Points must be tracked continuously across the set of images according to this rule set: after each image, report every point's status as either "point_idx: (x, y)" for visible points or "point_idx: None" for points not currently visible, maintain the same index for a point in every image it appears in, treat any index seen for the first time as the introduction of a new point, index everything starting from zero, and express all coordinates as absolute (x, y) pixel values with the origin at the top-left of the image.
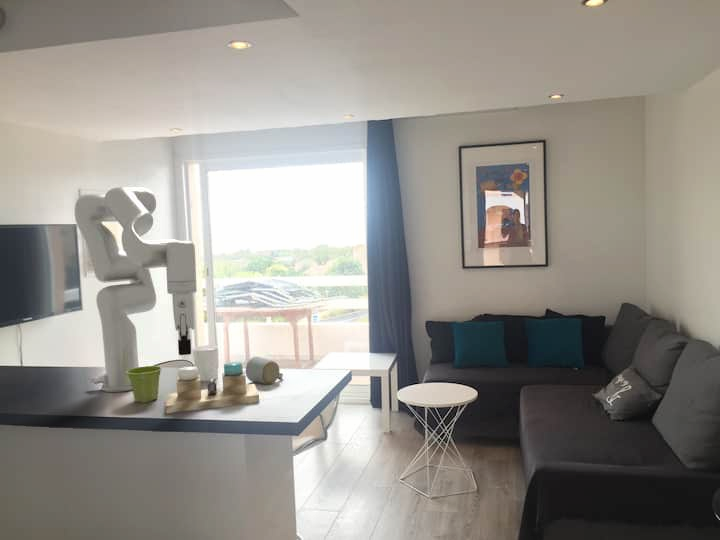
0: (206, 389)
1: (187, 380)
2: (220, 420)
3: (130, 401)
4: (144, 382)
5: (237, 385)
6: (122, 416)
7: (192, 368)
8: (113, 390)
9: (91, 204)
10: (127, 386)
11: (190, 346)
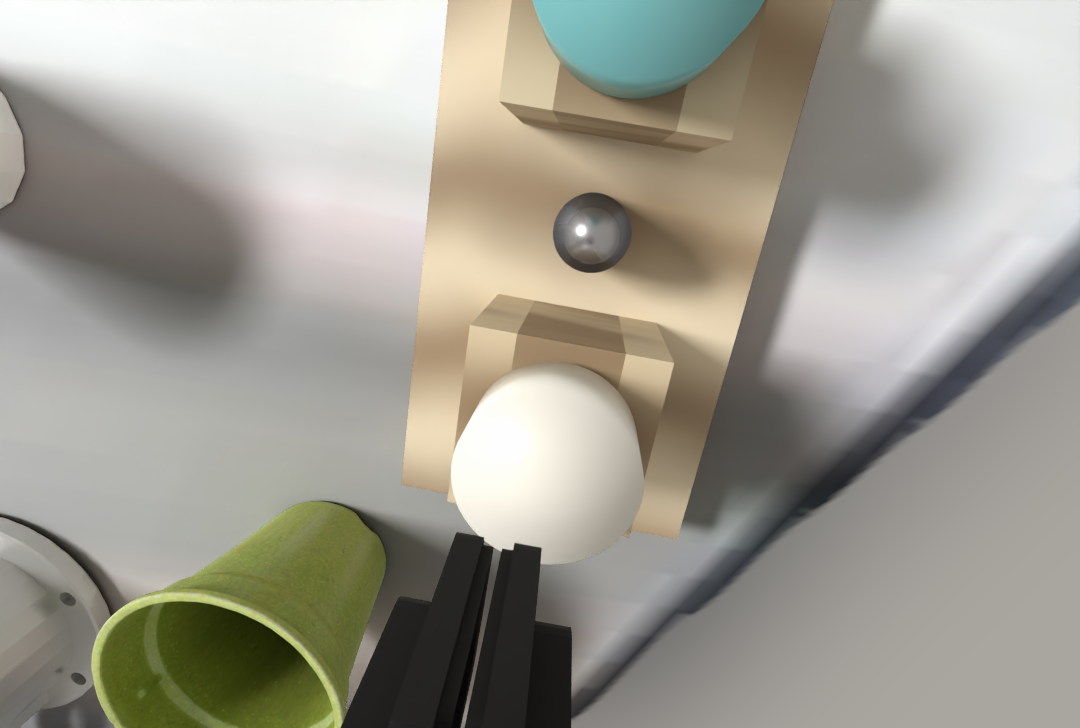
0: (428, 240)
1: None
2: (1059, 270)
3: None
4: (352, 659)
5: None
6: (577, 679)
7: (562, 442)
8: None
9: None
10: (73, 615)
11: (533, 630)
